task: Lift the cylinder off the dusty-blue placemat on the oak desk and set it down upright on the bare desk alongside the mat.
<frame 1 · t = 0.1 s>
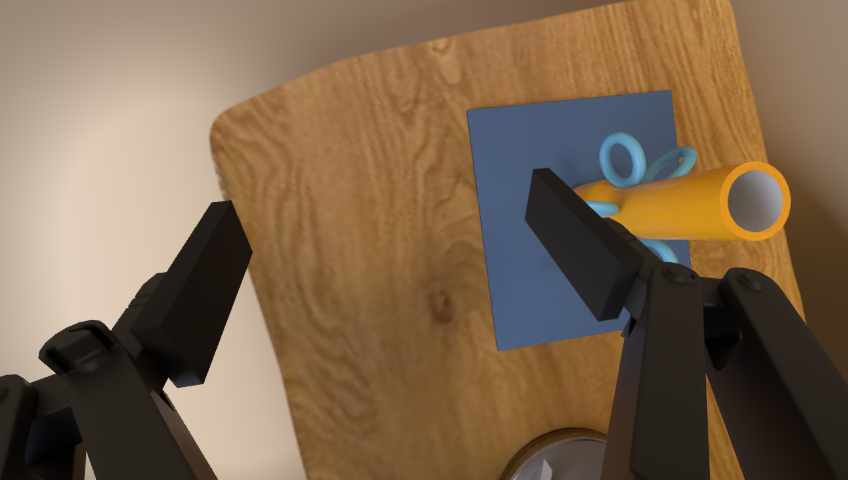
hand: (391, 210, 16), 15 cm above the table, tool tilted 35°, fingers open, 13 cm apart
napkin: (584, 217, 33), on the table
cylinder: (585, 217, 33), on the table, touching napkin
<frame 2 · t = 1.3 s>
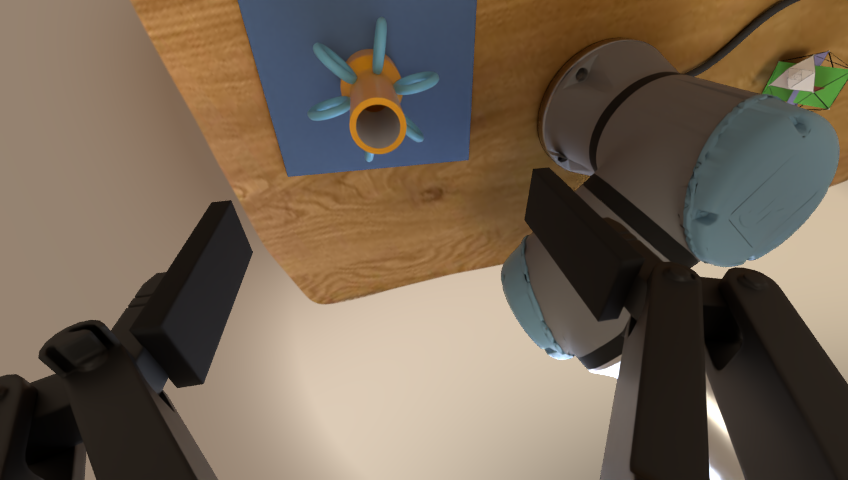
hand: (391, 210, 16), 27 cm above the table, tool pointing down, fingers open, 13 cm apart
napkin: (371, 79, 37), on the table
cylinder: (371, 79, 37), on the table, touching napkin
geometric puzzle: (775, 78, 44), on the table
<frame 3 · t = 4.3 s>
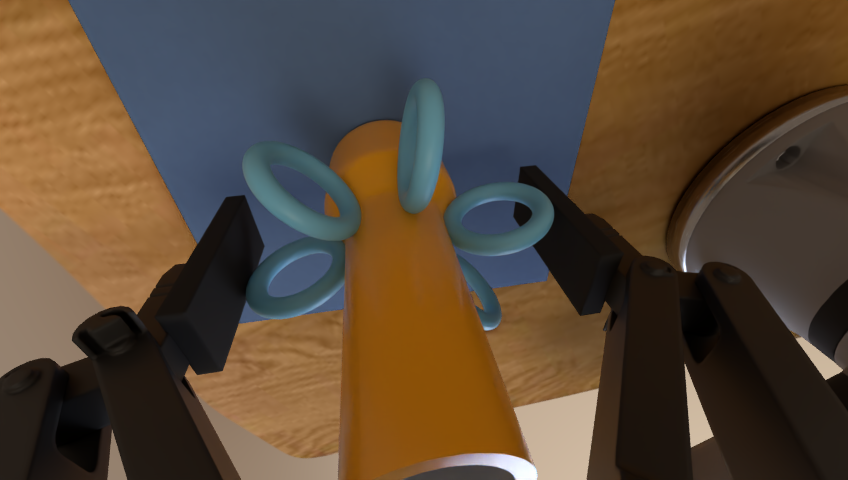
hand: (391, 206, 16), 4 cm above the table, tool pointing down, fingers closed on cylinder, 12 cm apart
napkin: (386, 170, 19), on the table
cylinder: (386, 171, 19), on the table, touching gripper, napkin
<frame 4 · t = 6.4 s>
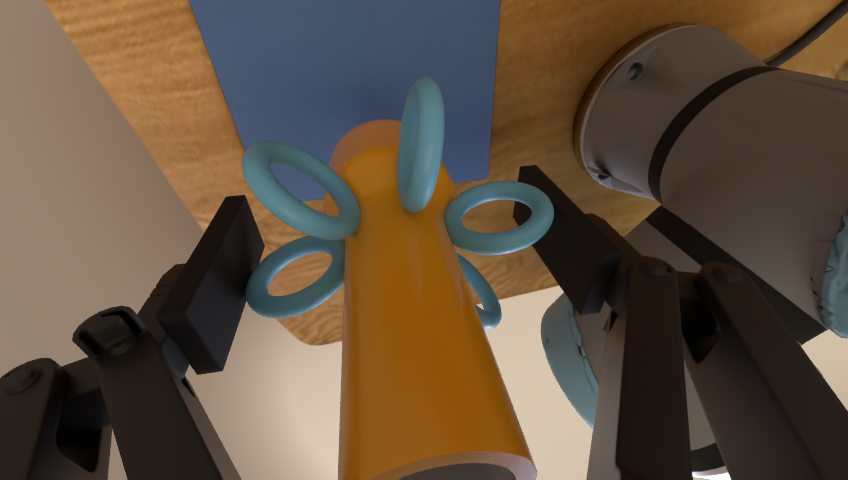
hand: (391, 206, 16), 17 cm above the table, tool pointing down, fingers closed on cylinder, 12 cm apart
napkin: (365, 83, 29), on the table
cylinder: (386, 170, 19), point 13 cm above the table, touching gripper
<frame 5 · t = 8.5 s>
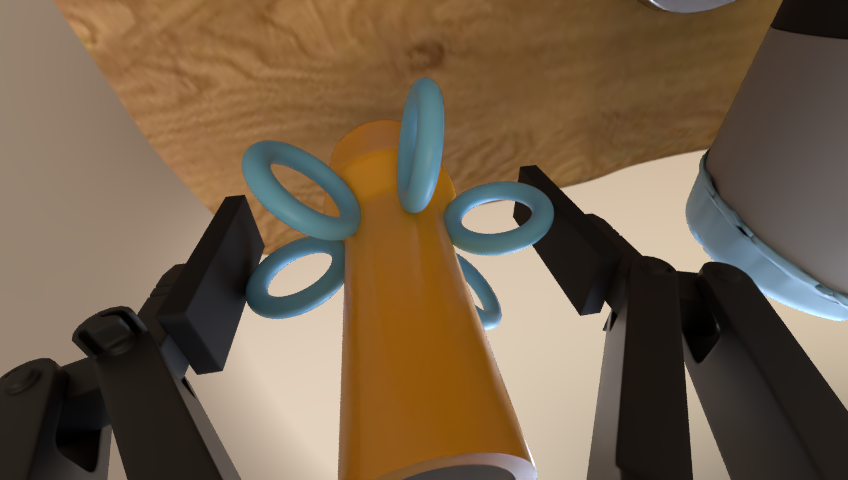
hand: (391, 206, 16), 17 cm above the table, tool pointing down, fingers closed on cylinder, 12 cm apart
cylinder: (386, 170, 19), point 13 cm above the table, touching gripper
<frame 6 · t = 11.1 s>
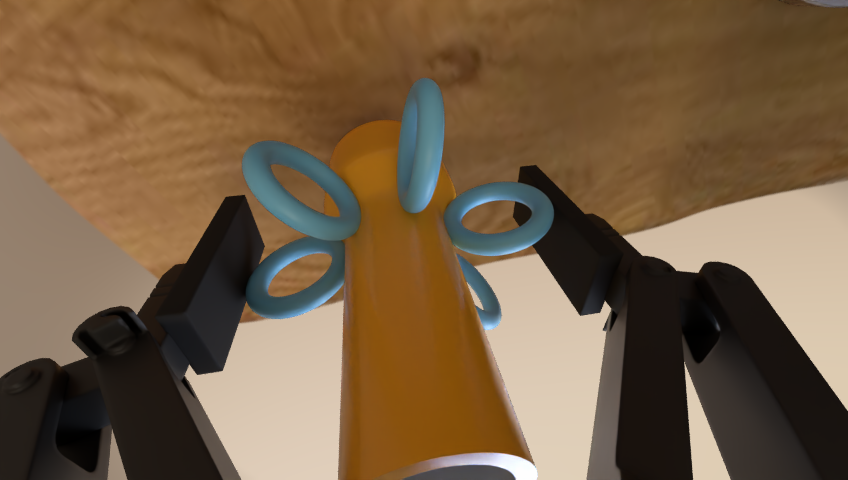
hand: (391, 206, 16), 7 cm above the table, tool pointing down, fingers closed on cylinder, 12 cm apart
cylinder: (386, 171, 19), point 3 cm above the table, touching gripper
when the fingers open (4 cm above the table, at t = 12.8 s): cylinder stays where it is, on the table.
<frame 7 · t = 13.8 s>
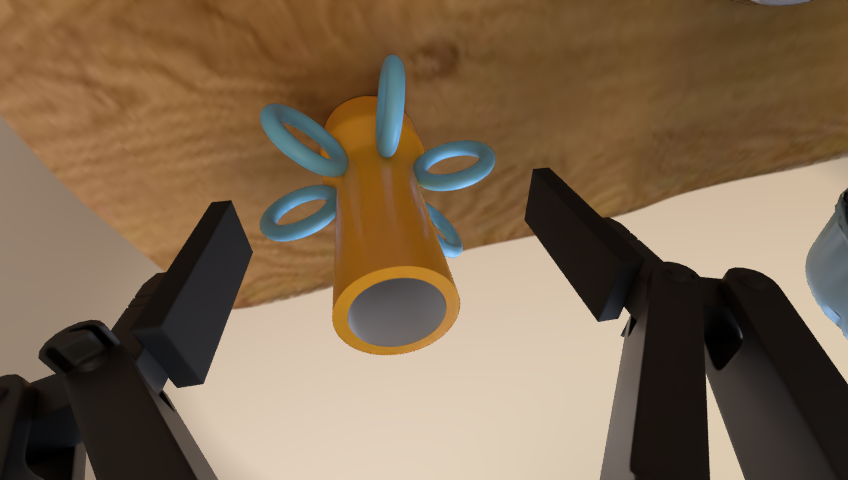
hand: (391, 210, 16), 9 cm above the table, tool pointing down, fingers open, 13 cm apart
cylinder: (370, 140, 23), on the table
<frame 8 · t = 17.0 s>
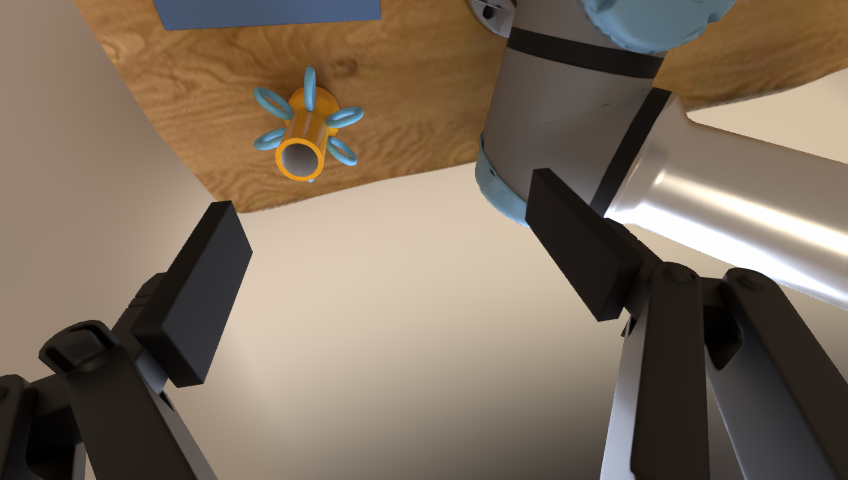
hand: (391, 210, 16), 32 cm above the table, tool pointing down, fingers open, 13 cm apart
cylinder: (315, 110, 43), on the table
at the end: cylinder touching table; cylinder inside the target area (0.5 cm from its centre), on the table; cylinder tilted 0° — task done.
